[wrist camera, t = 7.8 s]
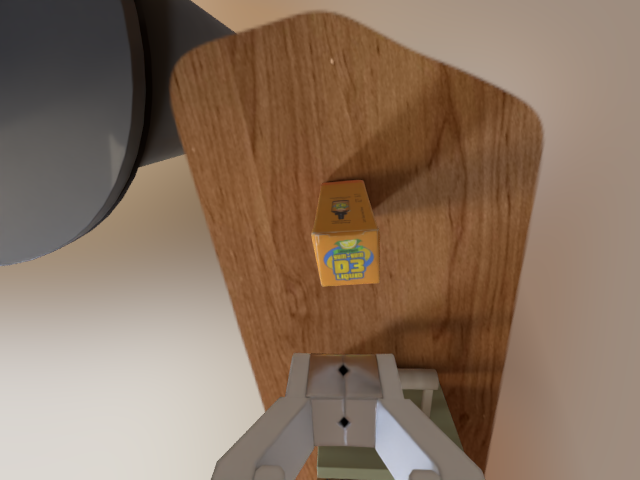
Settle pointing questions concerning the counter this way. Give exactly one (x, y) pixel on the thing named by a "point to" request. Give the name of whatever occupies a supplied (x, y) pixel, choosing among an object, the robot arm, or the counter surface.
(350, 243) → the supplement box
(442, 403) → the drawer
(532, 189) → the counter surface
